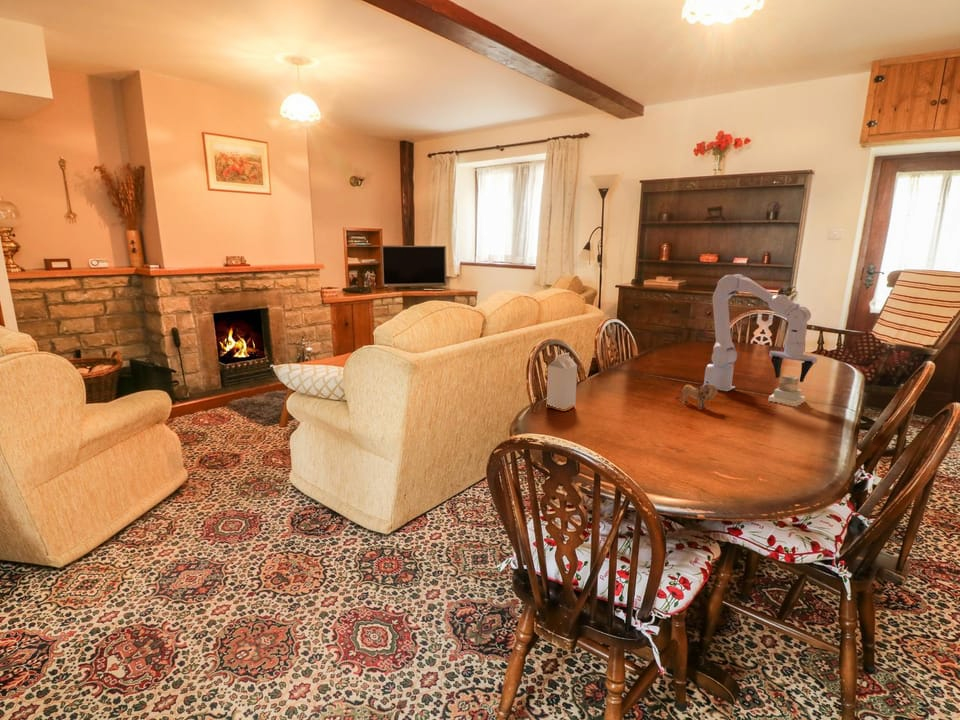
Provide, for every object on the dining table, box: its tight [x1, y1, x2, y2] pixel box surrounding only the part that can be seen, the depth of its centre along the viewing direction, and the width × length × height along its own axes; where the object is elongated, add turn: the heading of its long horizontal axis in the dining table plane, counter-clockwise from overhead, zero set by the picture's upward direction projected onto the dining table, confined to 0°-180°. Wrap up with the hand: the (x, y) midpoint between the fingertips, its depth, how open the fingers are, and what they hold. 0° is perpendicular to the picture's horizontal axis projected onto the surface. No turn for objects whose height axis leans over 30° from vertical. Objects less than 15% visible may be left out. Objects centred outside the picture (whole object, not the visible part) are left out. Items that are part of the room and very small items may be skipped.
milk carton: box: [546, 352, 578, 409], centre depth 167 cm, size 7×7×19 cm
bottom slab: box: [768, 393, 806, 408], centre depth 178 cm, size 9×9×2 cm
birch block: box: [778, 375, 800, 392], centre depth 176 cm, size 4×4×4 cm
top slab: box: [773, 386, 803, 401], centre depth 177 cm, size 7×7×2 cm
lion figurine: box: [675, 384, 719, 410], centre depth 172 cm, size 15×5×9 cm, turn 35°
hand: (789, 379), depth 176 cm, fingers open, 7 cm apart
